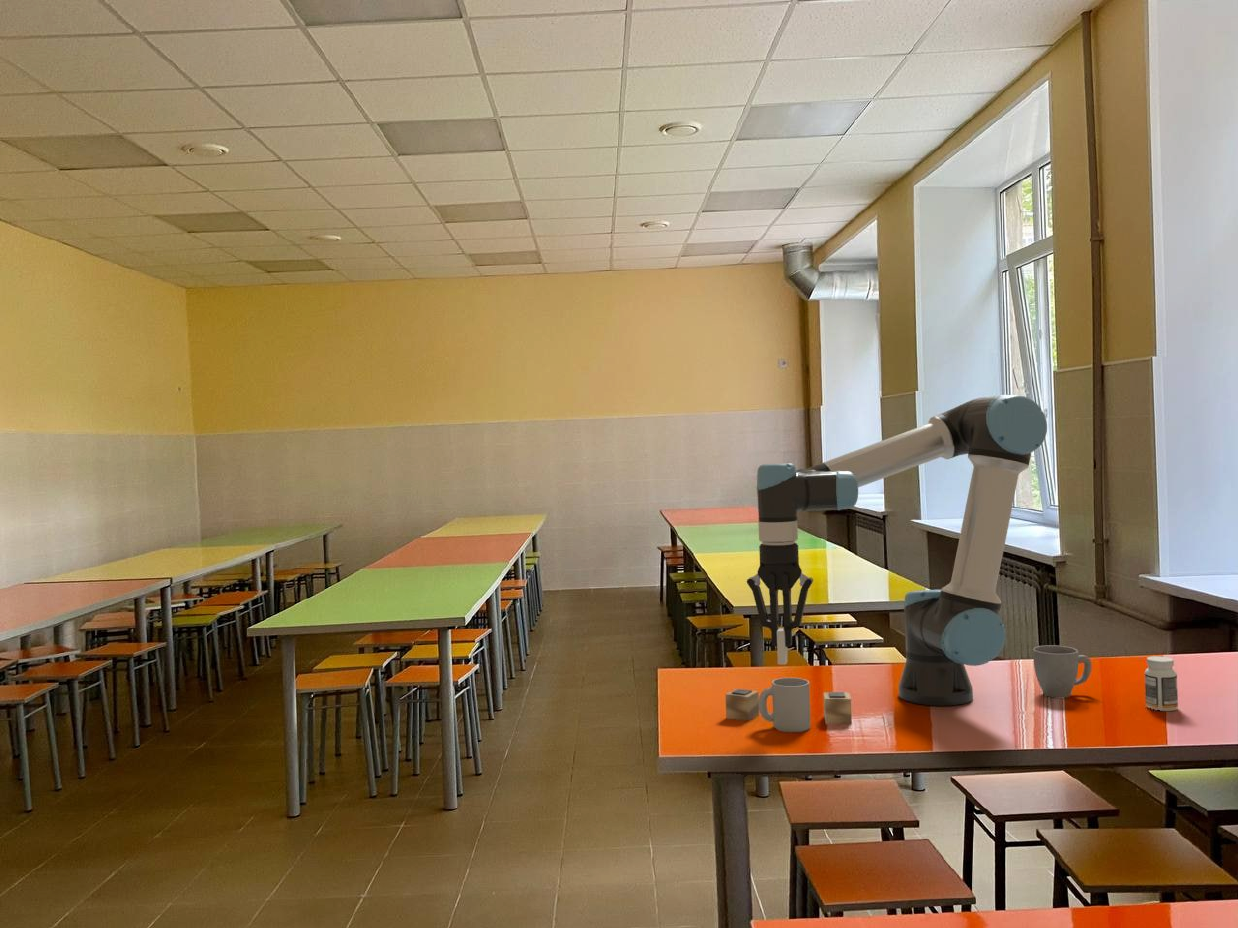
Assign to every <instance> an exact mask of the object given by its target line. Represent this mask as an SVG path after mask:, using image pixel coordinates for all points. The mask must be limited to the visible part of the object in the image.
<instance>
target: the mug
mask: <svg viewBox="0 0 1238 928" xmlns="http://www.w3.org/2000/svg"><path fill="white" fill-rule="evenodd" d="M1032 657H1033V666H1034V667H1033V668H1034V672H1035V677H1036V681H1037V682H1038V684H1039V687H1040V688H1041V692H1042V695H1043V696H1046V697H1050V698H1055V699H1056V698H1057V699H1064V698H1065V699H1066V698H1070V697H1071V695H1072V694H1071V693H1072V691H1073V688H1074V687H1075V686H1079V685H1081V684H1083V683H1084V684H1085V683H1086V682H1087V680H1088V679H1089V677H1090V675H1091V673H1092V669H1093V668H1092V661H1091V659H1090V658H1089V656H1087V655H1085V654H1079V651H1078V649H1077V648H1074V647H1070V646H1067V645H1066V646H1065V645H1057V644H1055V645H1054V644H1053V645H1052V644H1051V645H1050V644H1049V645H1048V644H1047V645H1037V646H1035V647H1034V648H1033V650H1032ZM1082 663H1083V664H1084V666H1083V671H1082V674H1081V675H1080V677H1079V678H1078V672H1079V664H1082Z"/></svg>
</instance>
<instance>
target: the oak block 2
mask: <svg viewBox="0 0 1238 928" xmlns="http://www.w3.org/2000/svg"><path fill="white" fill-rule="evenodd" d="M823 716H824V717H823V718H824V721H825V724H826V725H828V724H832V725H833V724H835V725H837V724H838V725H840V724H841V725H843V724H844V725H846V724H847V725H852V723H853V721H852V720H853V719H852V717H853V716H852V698H851V695H850V693H849V692H845V691H844V692H843V691H841V692H840V691H839V692H838V691H836V692H835V691H834V692H833V691H832V692H831V691H830V692H823Z"/></svg>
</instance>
